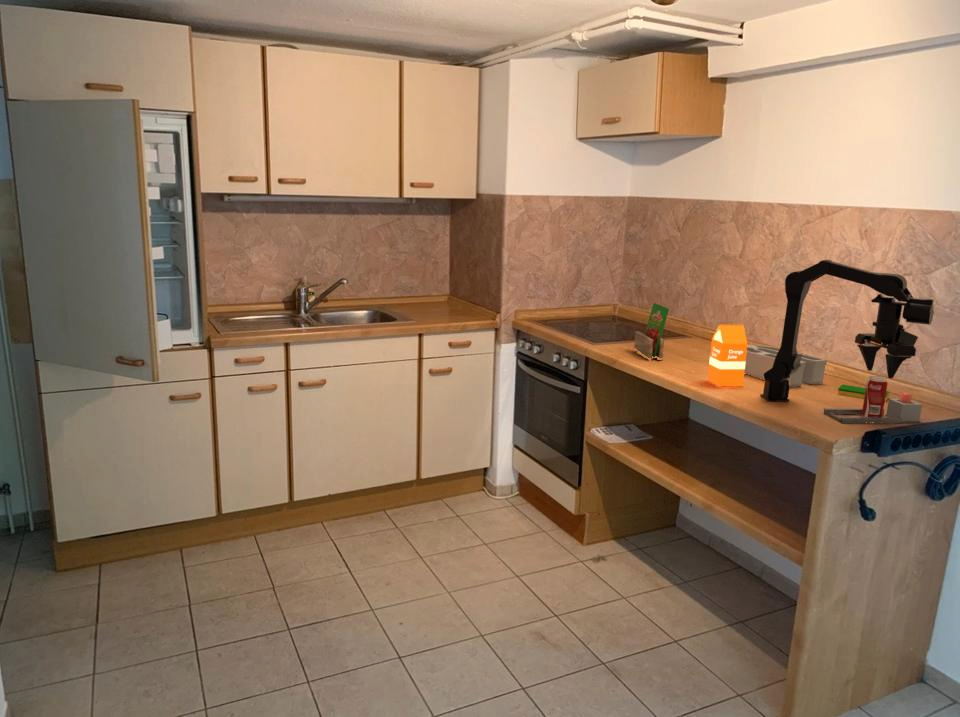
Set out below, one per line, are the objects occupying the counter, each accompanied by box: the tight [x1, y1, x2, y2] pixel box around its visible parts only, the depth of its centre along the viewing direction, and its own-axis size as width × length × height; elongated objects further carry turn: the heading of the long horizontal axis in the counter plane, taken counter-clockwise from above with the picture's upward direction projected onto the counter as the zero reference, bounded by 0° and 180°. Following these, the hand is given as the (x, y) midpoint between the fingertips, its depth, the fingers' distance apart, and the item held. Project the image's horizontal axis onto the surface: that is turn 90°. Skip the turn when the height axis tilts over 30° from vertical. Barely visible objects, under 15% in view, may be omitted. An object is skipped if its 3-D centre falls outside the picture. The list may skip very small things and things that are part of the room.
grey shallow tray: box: [823, 408, 904, 424], centre depth 212 cm, size 18×9×2 cm, turn 97°
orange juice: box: [707, 324, 749, 387], centre depth 244 cm, size 8×9×20 cm
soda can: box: [861, 375, 888, 417], centre depth 211 cm, size 5×5×12 cm
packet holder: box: [633, 330, 665, 359], centre depth 284 cm, size 5×17×8 cm, turn 7°
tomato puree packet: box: [643, 302, 670, 357], centre depth 283 cm, size 15×1×20 cm, turn 9°
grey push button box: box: [886, 398, 923, 422], centre depth 213 cm, size 6×6×5 cm
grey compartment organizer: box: [744, 344, 828, 388], centre depth 258 cm, size 17×28×9 cm, turn 28°
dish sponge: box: [837, 384, 890, 403], centre depth 237 cm, size 7×14×2 cm, turn 56°
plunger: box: [899, 392, 913, 403], centre depth 213 cm, size 3×3×5 cm
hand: (879, 374), depth 210 cm, fingers open, 9 cm apart
